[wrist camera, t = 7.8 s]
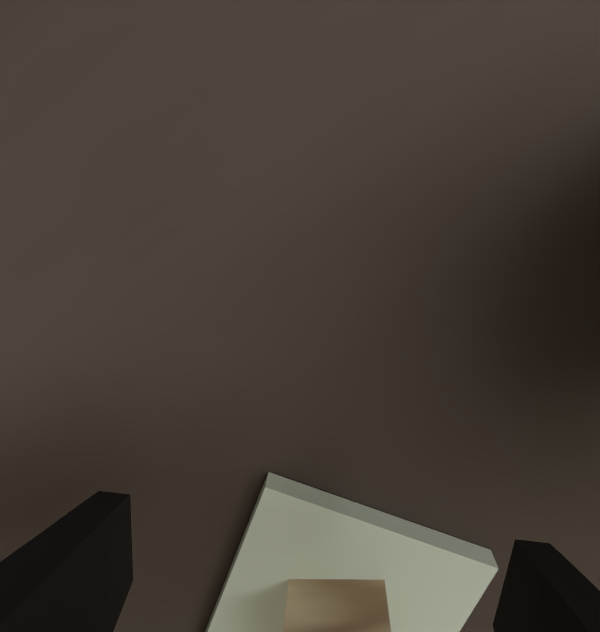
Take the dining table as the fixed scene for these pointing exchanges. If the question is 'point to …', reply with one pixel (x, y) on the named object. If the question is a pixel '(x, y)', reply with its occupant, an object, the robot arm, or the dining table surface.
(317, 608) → the maple block
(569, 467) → the dining table surface
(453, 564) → the coaster
